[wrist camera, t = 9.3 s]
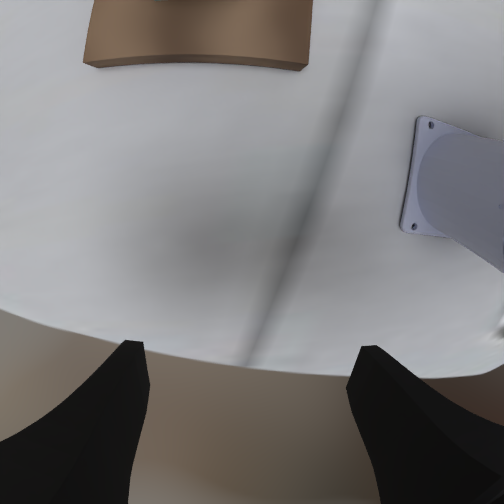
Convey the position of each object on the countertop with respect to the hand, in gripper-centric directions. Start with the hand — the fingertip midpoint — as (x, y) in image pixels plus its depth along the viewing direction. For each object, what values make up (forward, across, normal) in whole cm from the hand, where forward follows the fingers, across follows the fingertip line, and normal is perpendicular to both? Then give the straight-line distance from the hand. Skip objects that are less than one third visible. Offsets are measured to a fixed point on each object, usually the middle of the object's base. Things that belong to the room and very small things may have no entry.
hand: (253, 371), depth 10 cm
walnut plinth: (+10, +4, -17) cm, 20 cm away
